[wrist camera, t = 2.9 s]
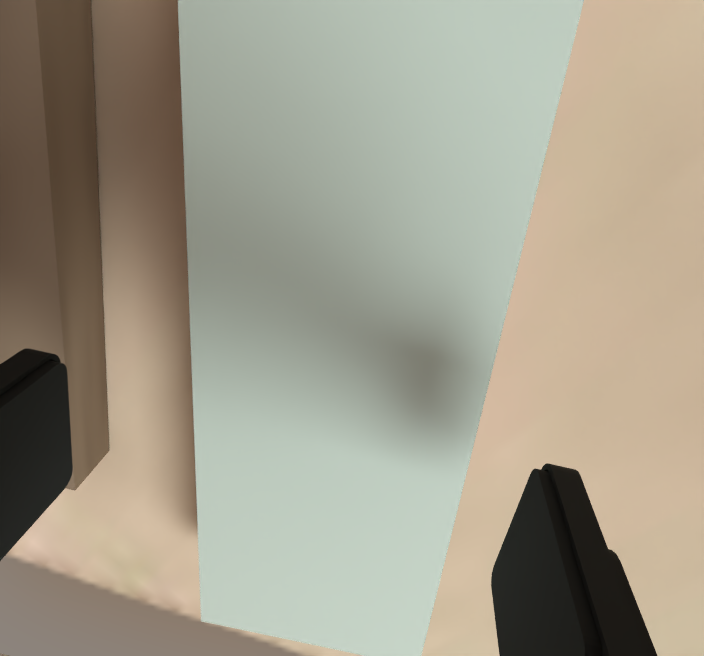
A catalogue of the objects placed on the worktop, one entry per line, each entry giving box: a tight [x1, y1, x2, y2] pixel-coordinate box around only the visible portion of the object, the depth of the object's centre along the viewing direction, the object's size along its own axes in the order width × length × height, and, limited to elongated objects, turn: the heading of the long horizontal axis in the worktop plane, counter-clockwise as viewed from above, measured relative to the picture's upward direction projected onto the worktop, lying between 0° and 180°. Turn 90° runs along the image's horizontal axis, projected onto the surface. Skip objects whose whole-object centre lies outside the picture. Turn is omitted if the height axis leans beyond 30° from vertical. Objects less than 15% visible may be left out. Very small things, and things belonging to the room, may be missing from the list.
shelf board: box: [178, 0, 584, 656], centre depth 14 cm, size 20×7×4 cm, turn 174°
